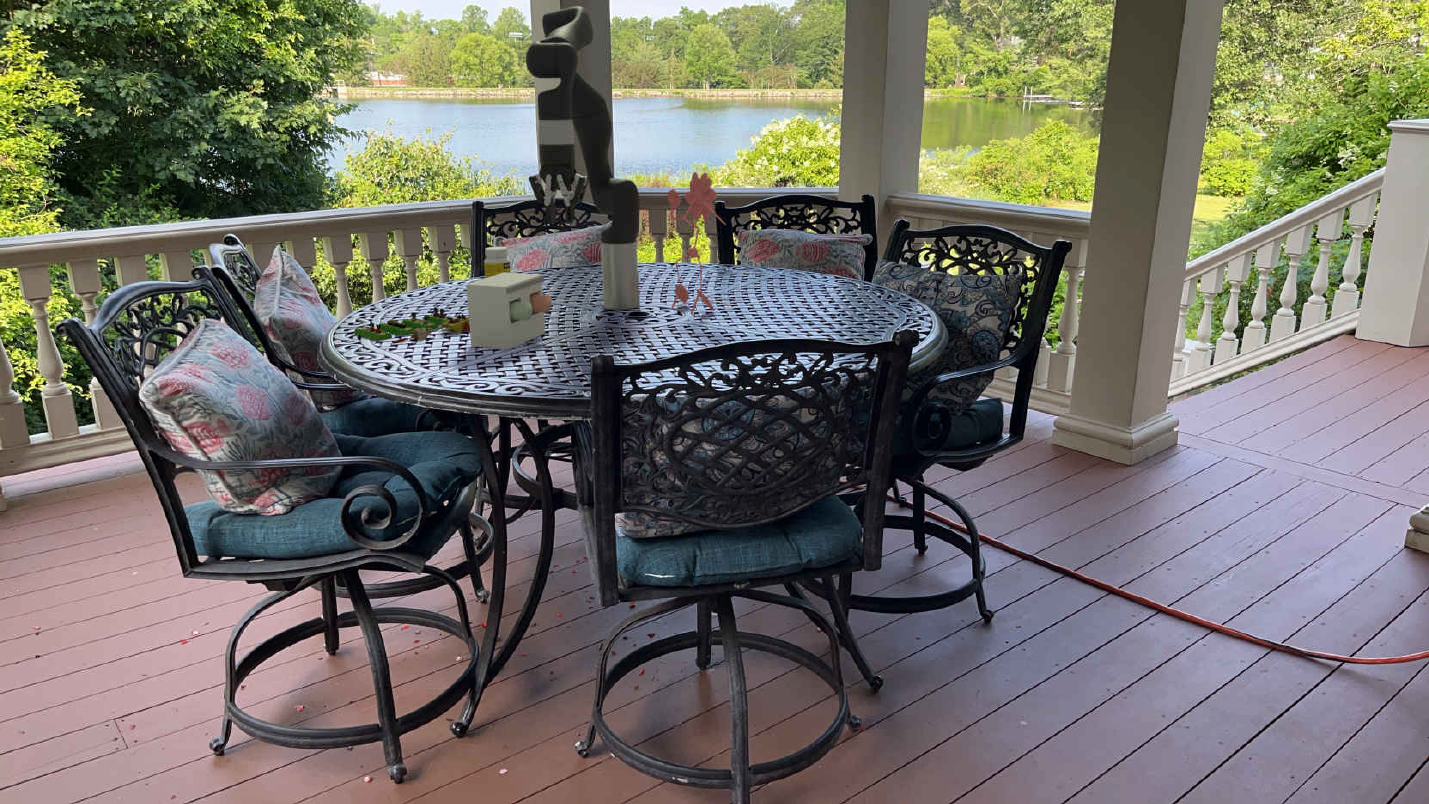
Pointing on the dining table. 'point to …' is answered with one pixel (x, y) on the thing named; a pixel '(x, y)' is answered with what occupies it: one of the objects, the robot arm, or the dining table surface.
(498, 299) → the console
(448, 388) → the dining table surface
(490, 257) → the supplement bottle
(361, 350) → the dining table surface
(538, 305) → the terracotta button
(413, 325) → the toy garden set
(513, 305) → the green button
